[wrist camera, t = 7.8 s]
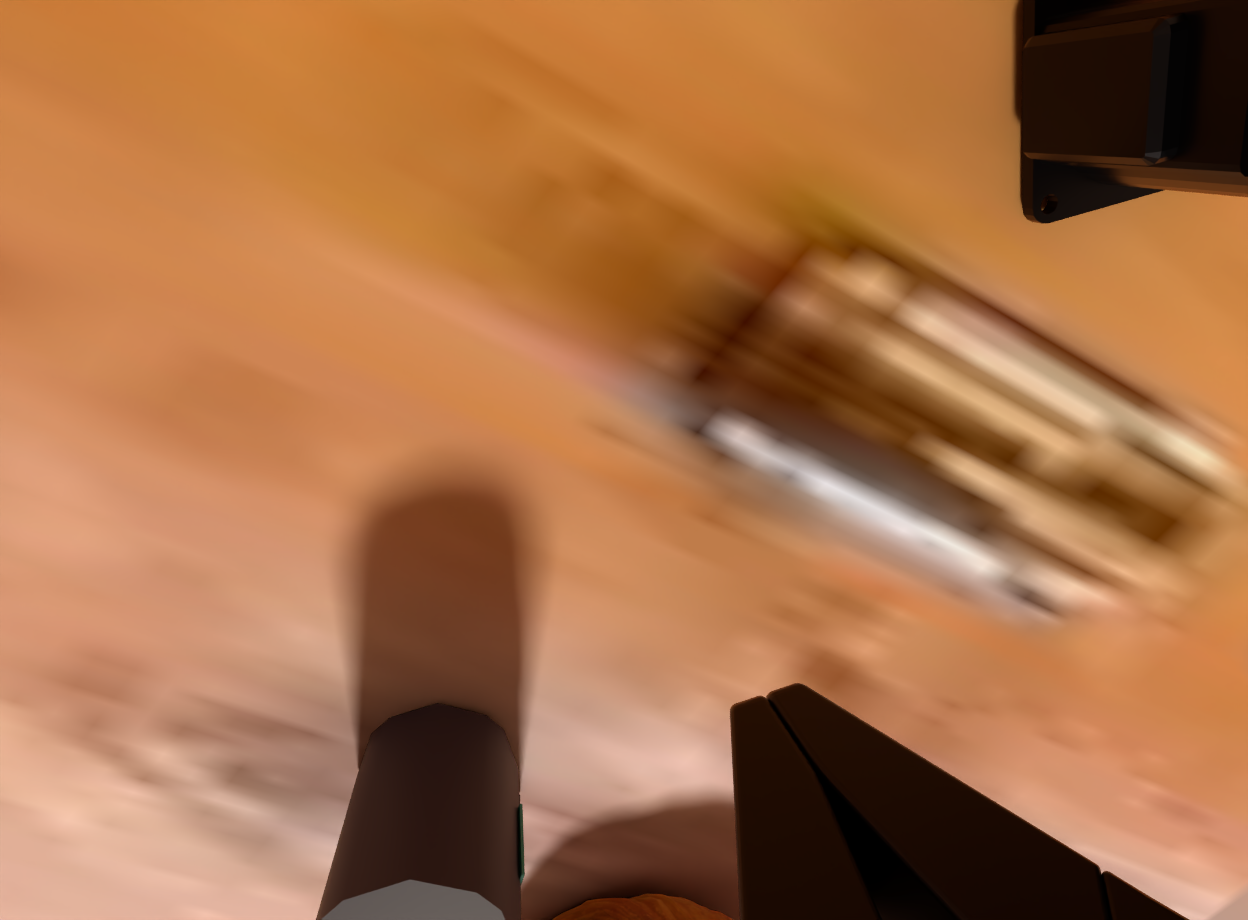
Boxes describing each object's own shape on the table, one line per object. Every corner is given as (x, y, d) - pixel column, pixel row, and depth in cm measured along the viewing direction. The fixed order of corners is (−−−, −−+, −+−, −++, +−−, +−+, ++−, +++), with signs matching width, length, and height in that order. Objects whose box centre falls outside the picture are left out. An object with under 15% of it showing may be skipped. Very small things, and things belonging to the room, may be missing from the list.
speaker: (548, 825, 26) (569, 1118, 18) (405, 867, 26) (357, 1186, 17) (495, 667, 24) (490, 916, 16) (337, 711, 24) (246, 990, 15)
